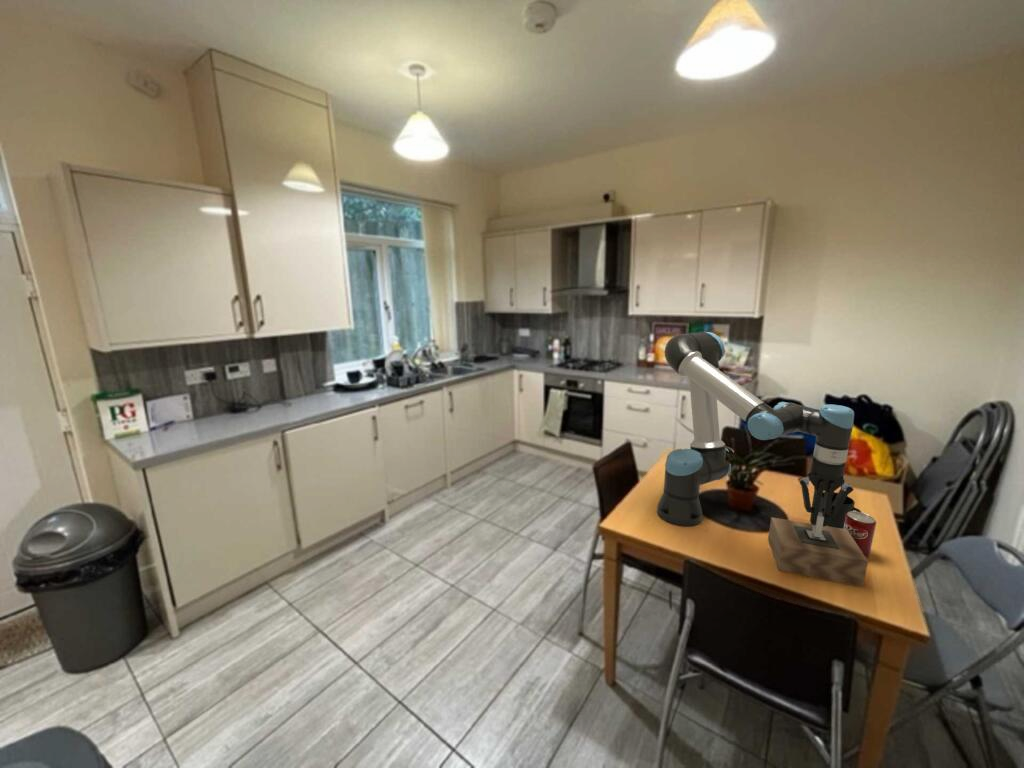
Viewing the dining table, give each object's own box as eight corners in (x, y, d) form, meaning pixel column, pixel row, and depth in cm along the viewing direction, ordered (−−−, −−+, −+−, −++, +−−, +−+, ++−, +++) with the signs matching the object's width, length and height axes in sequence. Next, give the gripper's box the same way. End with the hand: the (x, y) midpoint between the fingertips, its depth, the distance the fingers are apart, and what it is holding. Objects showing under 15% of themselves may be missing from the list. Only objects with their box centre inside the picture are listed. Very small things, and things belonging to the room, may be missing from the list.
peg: (805, 561, 126) (809, 537, 124) (801, 553, 129) (805, 530, 128) (821, 564, 124) (826, 540, 122) (817, 555, 128) (822, 532, 126)
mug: (859, 535, 139) (864, 510, 137) (815, 523, 147) (819, 499, 145) (859, 522, 147) (864, 498, 145) (817, 511, 154) (821, 488, 152)
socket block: (778, 569, 123) (782, 544, 121) (768, 539, 138) (771, 516, 136) (862, 586, 116) (868, 560, 114) (842, 552, 131) (847, 528, 129)
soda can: (857, 561, 127) (864, 525, 124) (833, 547, 134) (840, 512, 131) (875, 556, 129) (883, 521, 126) (850, 543, 135) (857, 509, 133)
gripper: (805, 461, 118) (793, 537, 124) (862, 468, 114) (847, 546, 119) (798, 451, 125) (787, 523, 131) (852, 457, 120) (838, 532, 126)
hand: (816, 534), depth 125 cm, fingers closed
